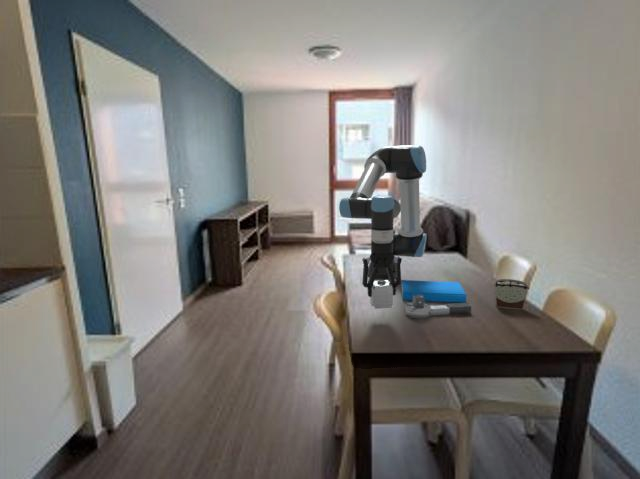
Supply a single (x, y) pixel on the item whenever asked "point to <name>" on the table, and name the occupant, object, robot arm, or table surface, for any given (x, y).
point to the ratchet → (434, 308)
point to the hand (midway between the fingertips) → (381, 304)
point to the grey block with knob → (382, 294)
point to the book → (433, 291)
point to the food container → (510, 293)
